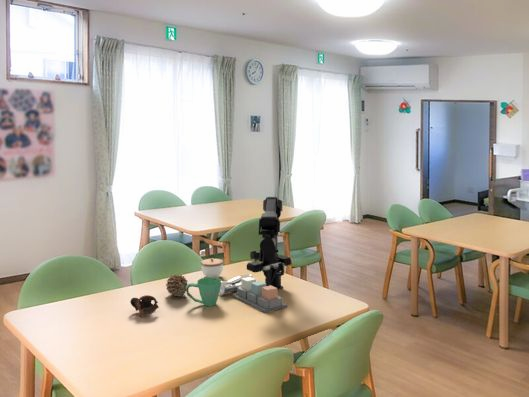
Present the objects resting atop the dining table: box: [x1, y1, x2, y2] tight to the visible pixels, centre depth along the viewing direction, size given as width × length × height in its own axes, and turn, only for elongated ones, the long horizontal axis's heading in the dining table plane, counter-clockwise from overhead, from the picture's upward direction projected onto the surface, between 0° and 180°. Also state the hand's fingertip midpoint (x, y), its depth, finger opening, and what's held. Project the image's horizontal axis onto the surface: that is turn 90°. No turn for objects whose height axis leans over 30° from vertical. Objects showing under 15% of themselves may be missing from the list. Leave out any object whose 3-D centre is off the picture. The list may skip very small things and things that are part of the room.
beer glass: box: [219, 273, 254, 296], centre depth 226 cm, size 7×7×15 cm
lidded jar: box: [200, 257, 224, 280], centre depth 248 cm, size 11×11×9 cm
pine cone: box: [165, 273, 189, 297], centre depth 225 cm, size 22×10×10 cm, turn 23°
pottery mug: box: [129, 295, 159, 318], centre depth 202 cm, size 12×10×8 cm
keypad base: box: [232, 286, 288, 314], centre depth 214 cm, size 11×24×4 cm, turn 36°
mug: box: [185, 277, 222, 307], centre depth 210 cm, size 15×10×10 cm
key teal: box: [251, 280, 266, 295], centre depth 213 cm, size 4×4×5 cm
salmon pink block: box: [262, 285, 278, 300], centre depth 207 cm, size 4×4×5 cm
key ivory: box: [241, 276, 257, 291], centre depth 219 cm, size 4×4×5 cm
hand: (269, 284), depth 207 cm, fingers closed
